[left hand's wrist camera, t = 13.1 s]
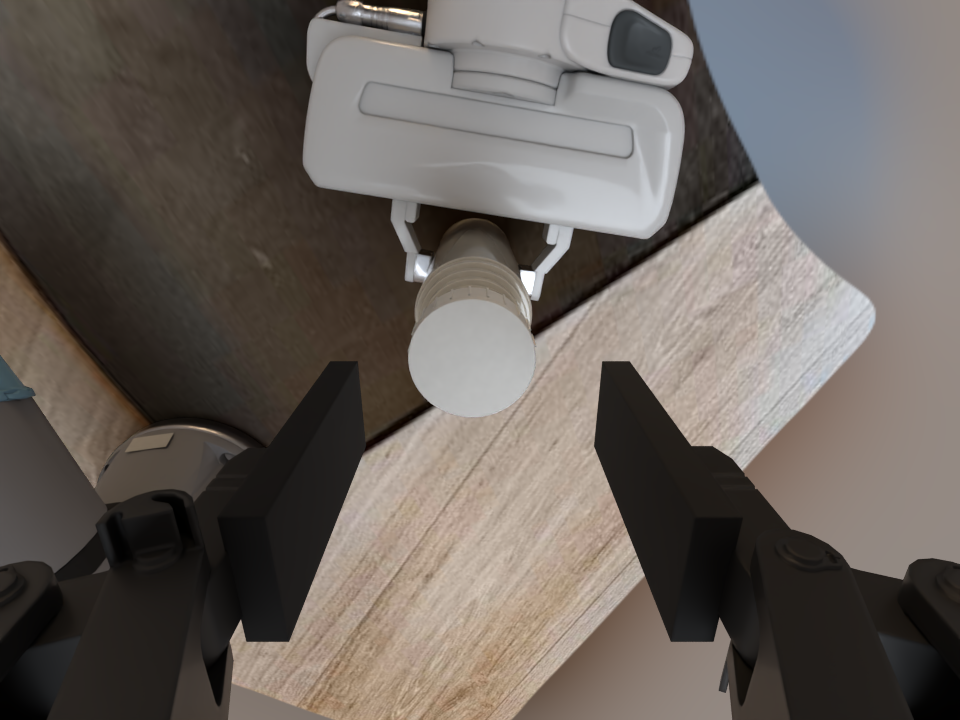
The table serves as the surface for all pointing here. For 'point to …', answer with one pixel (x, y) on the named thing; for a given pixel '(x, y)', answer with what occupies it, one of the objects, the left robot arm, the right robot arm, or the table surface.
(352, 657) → the table surface
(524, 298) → the bottle
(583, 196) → the right robot arm
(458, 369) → the cap
